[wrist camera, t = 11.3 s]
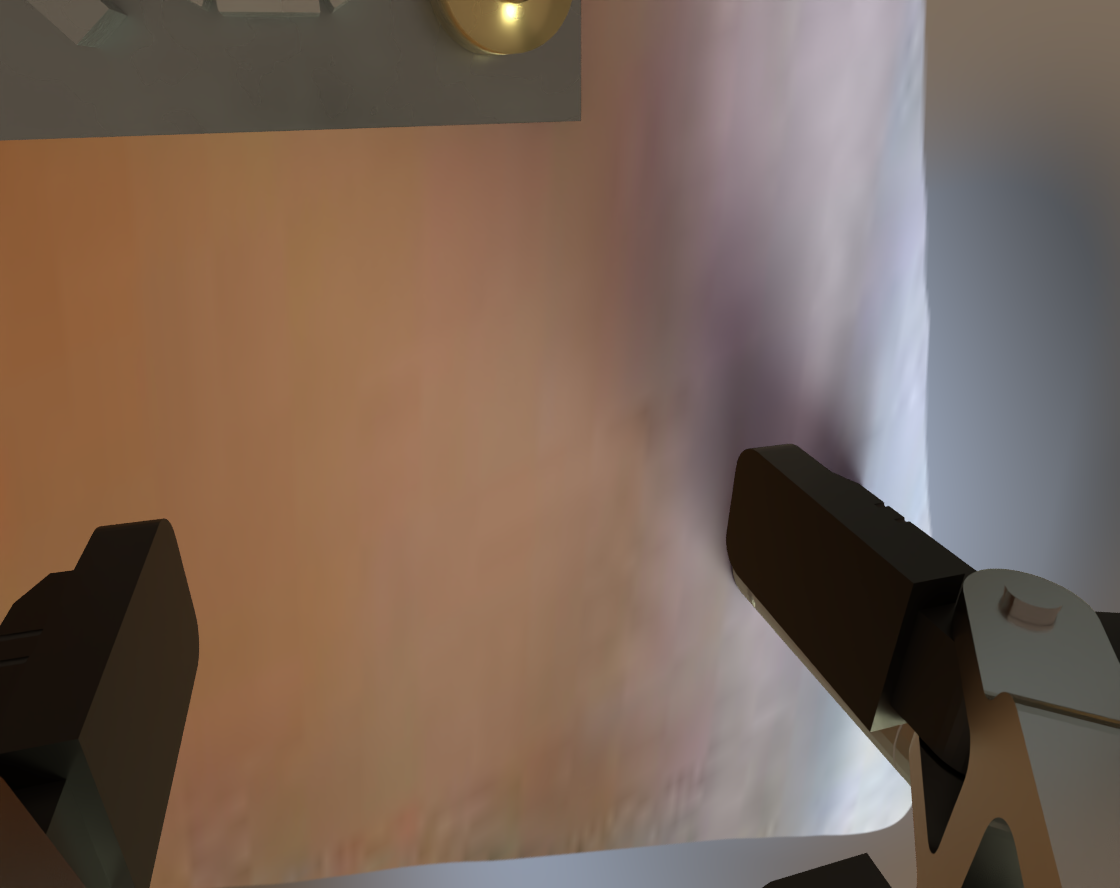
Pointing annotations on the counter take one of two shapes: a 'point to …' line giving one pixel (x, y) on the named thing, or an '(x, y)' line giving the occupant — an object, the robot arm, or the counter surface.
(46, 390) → the counter surface
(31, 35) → the grey ring holder
